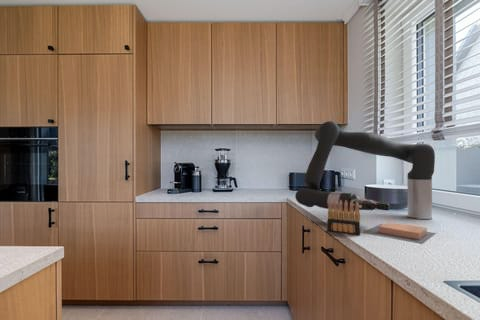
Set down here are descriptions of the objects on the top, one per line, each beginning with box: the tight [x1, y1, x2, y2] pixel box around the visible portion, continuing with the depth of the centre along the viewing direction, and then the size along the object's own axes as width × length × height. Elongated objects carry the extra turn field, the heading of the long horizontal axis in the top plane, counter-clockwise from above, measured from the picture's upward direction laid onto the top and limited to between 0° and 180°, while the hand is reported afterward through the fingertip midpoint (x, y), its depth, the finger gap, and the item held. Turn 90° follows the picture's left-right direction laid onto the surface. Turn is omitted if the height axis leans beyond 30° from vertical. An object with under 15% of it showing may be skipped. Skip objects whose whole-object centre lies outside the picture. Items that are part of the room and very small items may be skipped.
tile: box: [377, 221, 428, 239], centre depth 93 cm, size 10×2×12 cm
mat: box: [360, 223, 437, 245], centre depth 94 cm, size 18×18×1 cm
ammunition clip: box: [326, 199, 361, 236], centre depth 94 cm, size 11×2×12 cm, turn 60°
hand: (389, 207), depth 96 cm, fingers closed
